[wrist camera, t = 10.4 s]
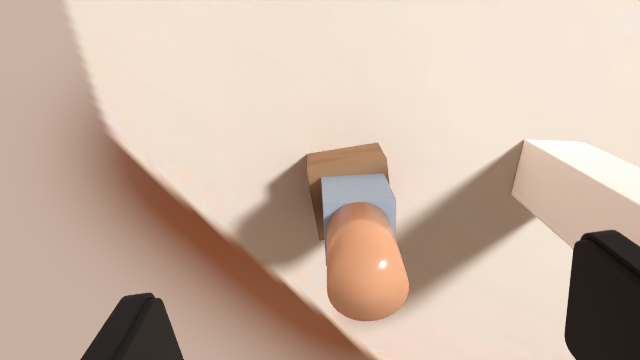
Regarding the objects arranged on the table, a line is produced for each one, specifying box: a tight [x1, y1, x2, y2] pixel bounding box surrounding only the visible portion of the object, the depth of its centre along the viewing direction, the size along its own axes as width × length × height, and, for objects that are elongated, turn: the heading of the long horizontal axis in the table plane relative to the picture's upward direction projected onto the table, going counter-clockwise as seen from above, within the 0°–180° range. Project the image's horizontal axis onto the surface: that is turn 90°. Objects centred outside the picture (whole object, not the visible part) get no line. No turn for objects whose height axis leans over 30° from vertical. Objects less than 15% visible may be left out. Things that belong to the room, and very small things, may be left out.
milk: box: [511, 140, 640, 249], centre depth 31 cm, size 6×6×22 cm
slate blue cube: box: [321, 173, 396, 266], centre depth 34 cm, size 6×6×6 cm
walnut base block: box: [307, 143, 389, 240], centre depth 39 cm, size 7×7×5 cm
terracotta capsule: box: [327, 202, 409, 321], centre depth 28 cm, size 5×5×7 cm
